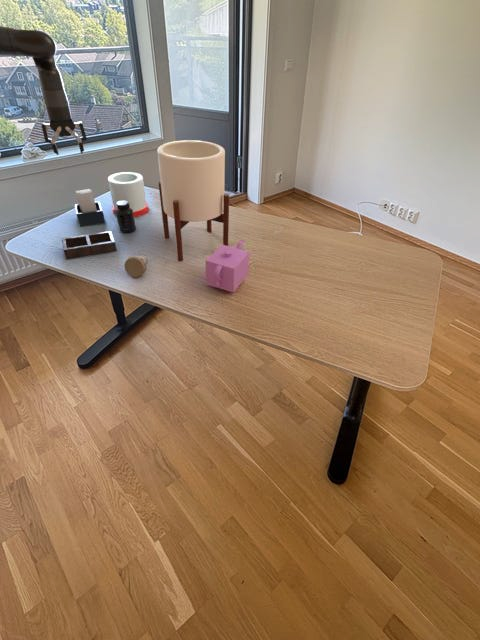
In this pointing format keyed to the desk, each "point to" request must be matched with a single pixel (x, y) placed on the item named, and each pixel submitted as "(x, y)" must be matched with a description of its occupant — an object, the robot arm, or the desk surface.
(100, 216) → the dark grey open box
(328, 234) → the desk surface
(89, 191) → the cosmetic box
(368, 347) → the desk surface
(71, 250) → the box
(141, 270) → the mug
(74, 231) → the desk surface
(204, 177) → the planter
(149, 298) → the desk surface
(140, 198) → the container
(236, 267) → the teapot
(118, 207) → the supplement bottle
